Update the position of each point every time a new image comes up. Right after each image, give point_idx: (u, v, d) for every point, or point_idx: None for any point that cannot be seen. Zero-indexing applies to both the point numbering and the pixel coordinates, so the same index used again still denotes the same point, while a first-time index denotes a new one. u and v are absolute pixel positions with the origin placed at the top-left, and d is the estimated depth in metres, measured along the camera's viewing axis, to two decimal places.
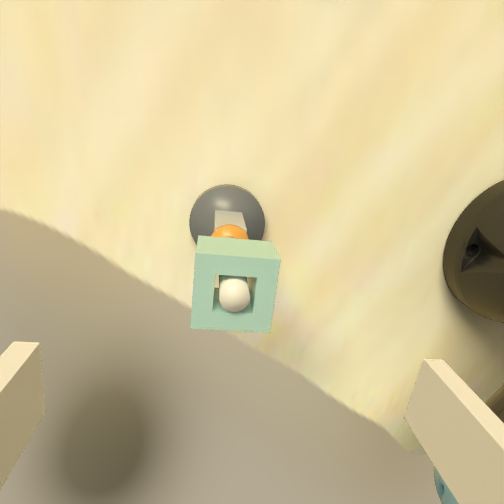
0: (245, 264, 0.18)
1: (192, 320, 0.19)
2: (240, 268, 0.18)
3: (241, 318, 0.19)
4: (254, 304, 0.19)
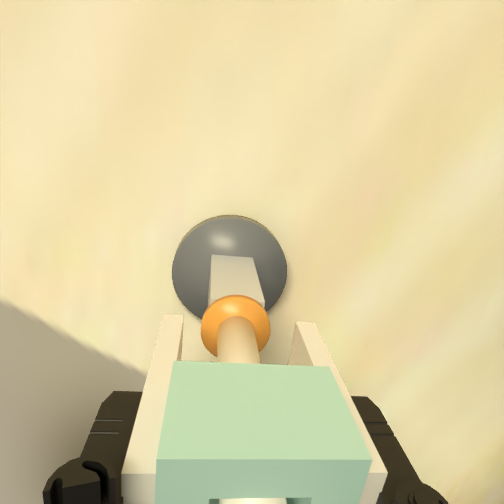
0: (284, 474, 0.07)
1: None
2: (272, 483, 0.07)
3: None
4: None
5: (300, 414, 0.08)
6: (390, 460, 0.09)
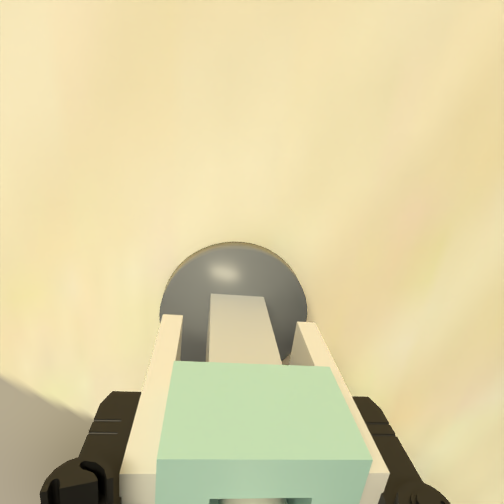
0: (285, 474, 0.07)
1: None
2: (272, 483, 0.07)
3: None
4: None
5: (300, 414, 0.08)
6: (392, 460, 0.09)
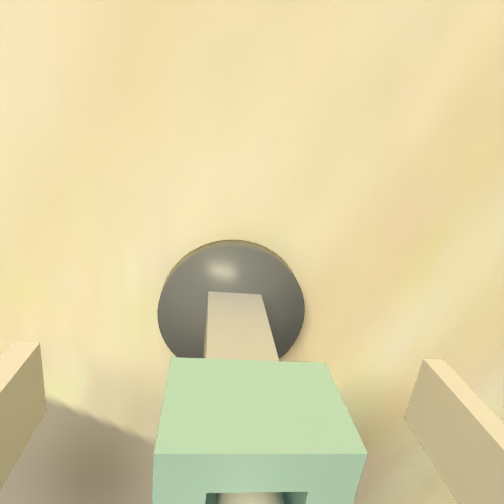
0: (281, 468, 0.07)
1: None
2: (268, 477, 0.07)
3: None
4: None
5: (296, 409, 0.08)
6: None
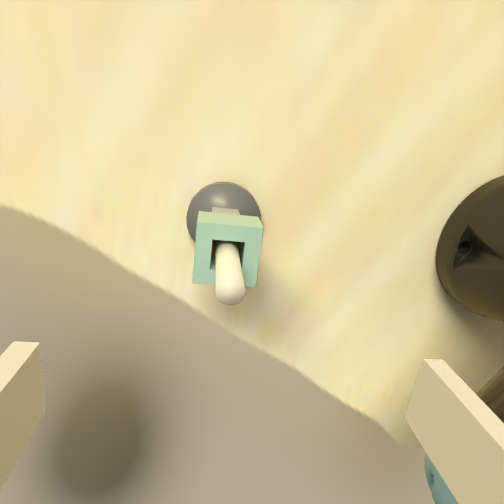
0: (235, 231, 0.23)
1: (194, 276, 0.24)
2: (232, 234, 0.24)
3: None
4: (243, 264, 0.24)
5: (243, 221, 0.25)
6: None
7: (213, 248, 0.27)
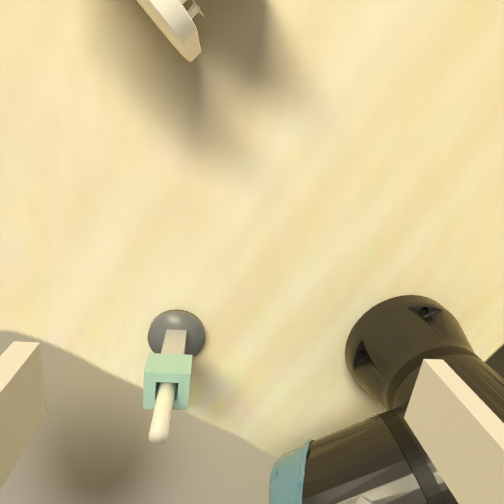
0: (171, 376, 0.34)
1: (144, 404, 0.35)
2: (168, 378, 0.34)
3: None
4: (178, 395, 0.35)
5: (178, 365, 0.35)
6: None
7: None
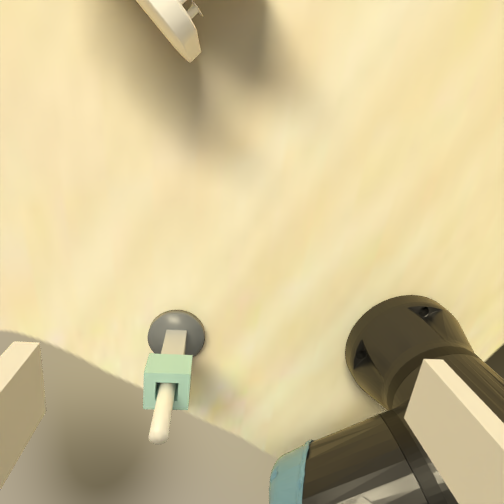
0: (171, 377, 0.34)
1: (144, 405, 0.35)
2: (168, 379, 0.34)
3: None
4: (178, 396, 0.35)
5: (178, 365, 0.35)
6: None
7: None
